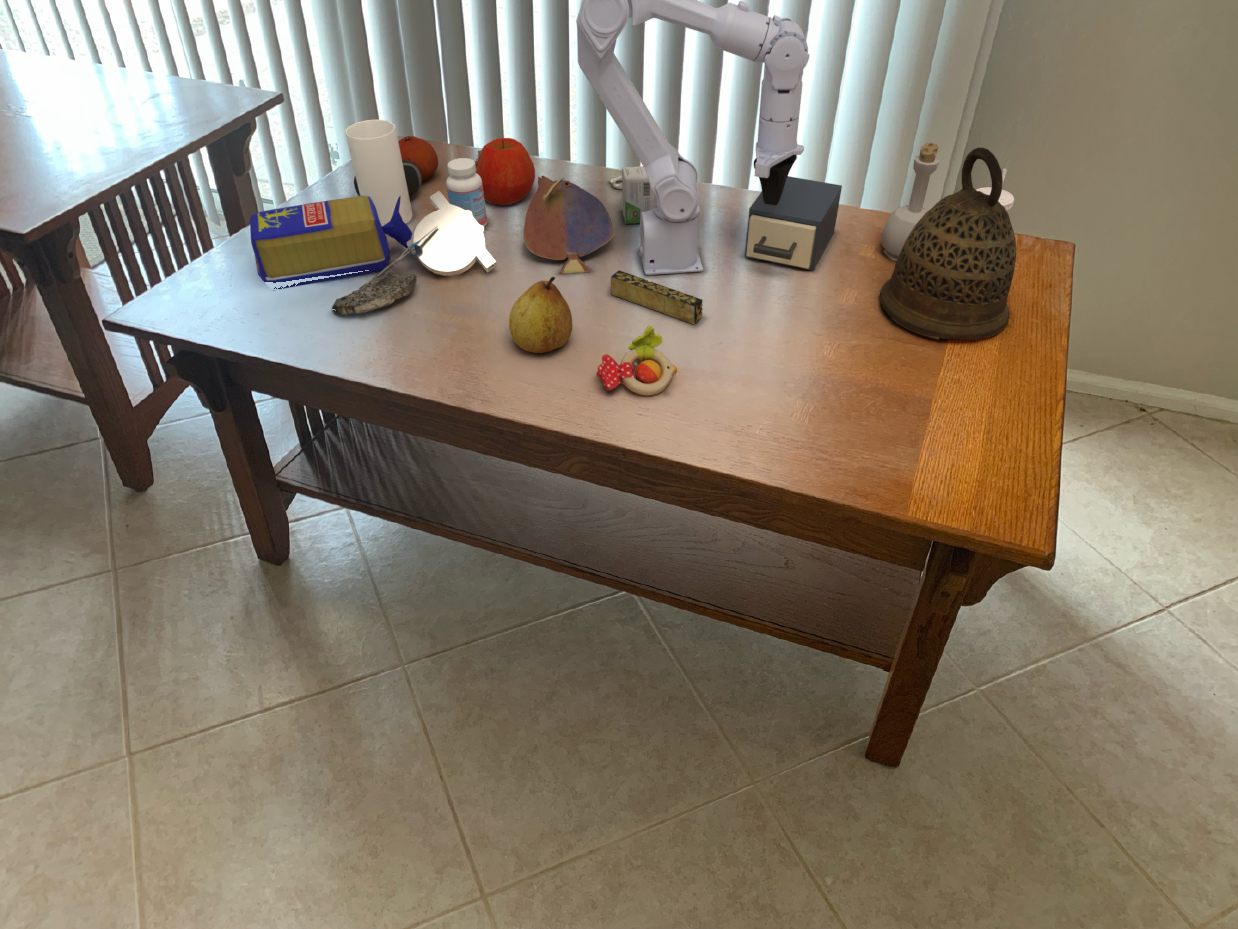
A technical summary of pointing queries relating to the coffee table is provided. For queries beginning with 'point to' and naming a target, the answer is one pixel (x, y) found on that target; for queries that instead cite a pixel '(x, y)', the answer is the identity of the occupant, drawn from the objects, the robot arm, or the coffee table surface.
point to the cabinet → (804, 211)
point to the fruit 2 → (540, 318)
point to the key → (613, 181)
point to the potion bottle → (910, 204)
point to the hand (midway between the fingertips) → (771, 202)
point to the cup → (379, 167)
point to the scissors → (401, 256)
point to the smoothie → (1005, 197)
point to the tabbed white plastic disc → (451, 240)
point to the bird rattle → (639, 367)
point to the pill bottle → (466, 188)
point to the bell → (956, 264)
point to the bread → (324, 240)
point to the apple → (505, 171)
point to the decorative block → (656, 297)
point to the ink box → (636, 194)
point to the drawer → (780, 241)
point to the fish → (566, 223)
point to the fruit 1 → (419, 154)
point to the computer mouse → (406, 177)
